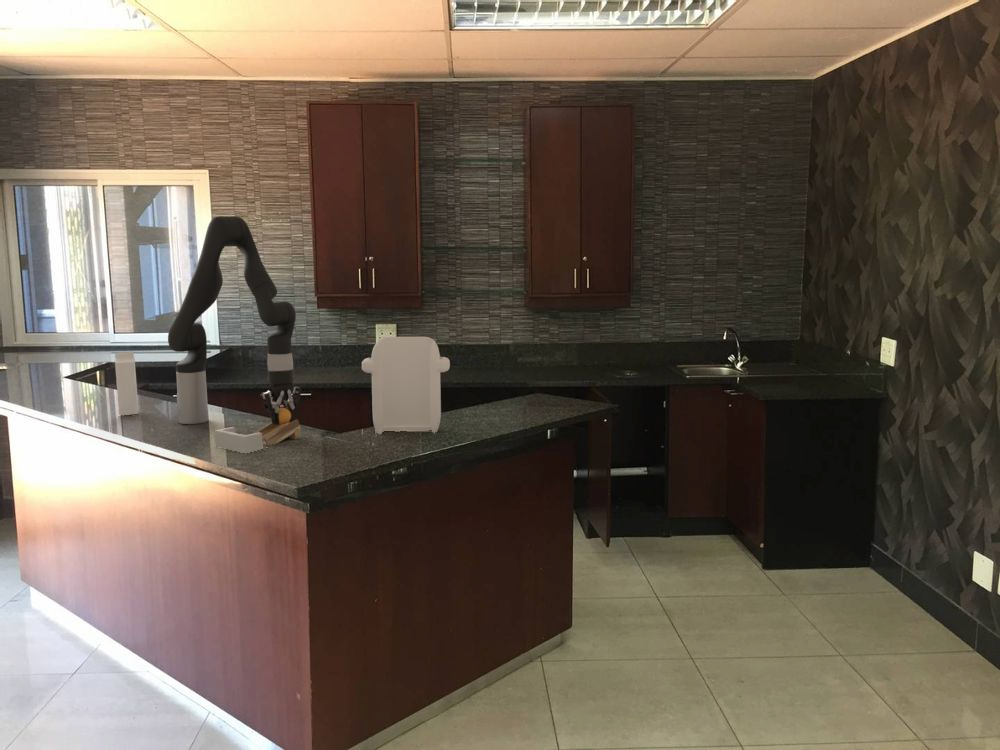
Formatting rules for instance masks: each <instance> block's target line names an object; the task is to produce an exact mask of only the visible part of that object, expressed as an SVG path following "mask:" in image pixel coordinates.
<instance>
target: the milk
mask: <svg viewBox="0 0 1000 750" xmlns="http://www.w3.org/2000/svg"><path fill="white" fill-rule="evenodd" d="M134 353H135V352H133V351H126V352H125V351H123V352H115V353H114V356H115V357H114V360H115V361H114V367H115V378H116V380H115V381H116V393H117V404H118V416H119V415H123V414H138V415H139V412H138V411H139V399H138V386H137V385H138V384H137V373H136V371H137V370H136V360H135V354H134Z"/></svg>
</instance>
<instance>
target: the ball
mask: <svg viewBox="0 0 1000 750" xmlns="http://www.w3.org/2000/svg"><path fill="white" fill-rule="evenodd" d="M277 413H279V424H286V423H290V422H289V421H290V419H291V413H290V411H289V410H288V409H287V407H279V409H278V412H277Z"/></svg>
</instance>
